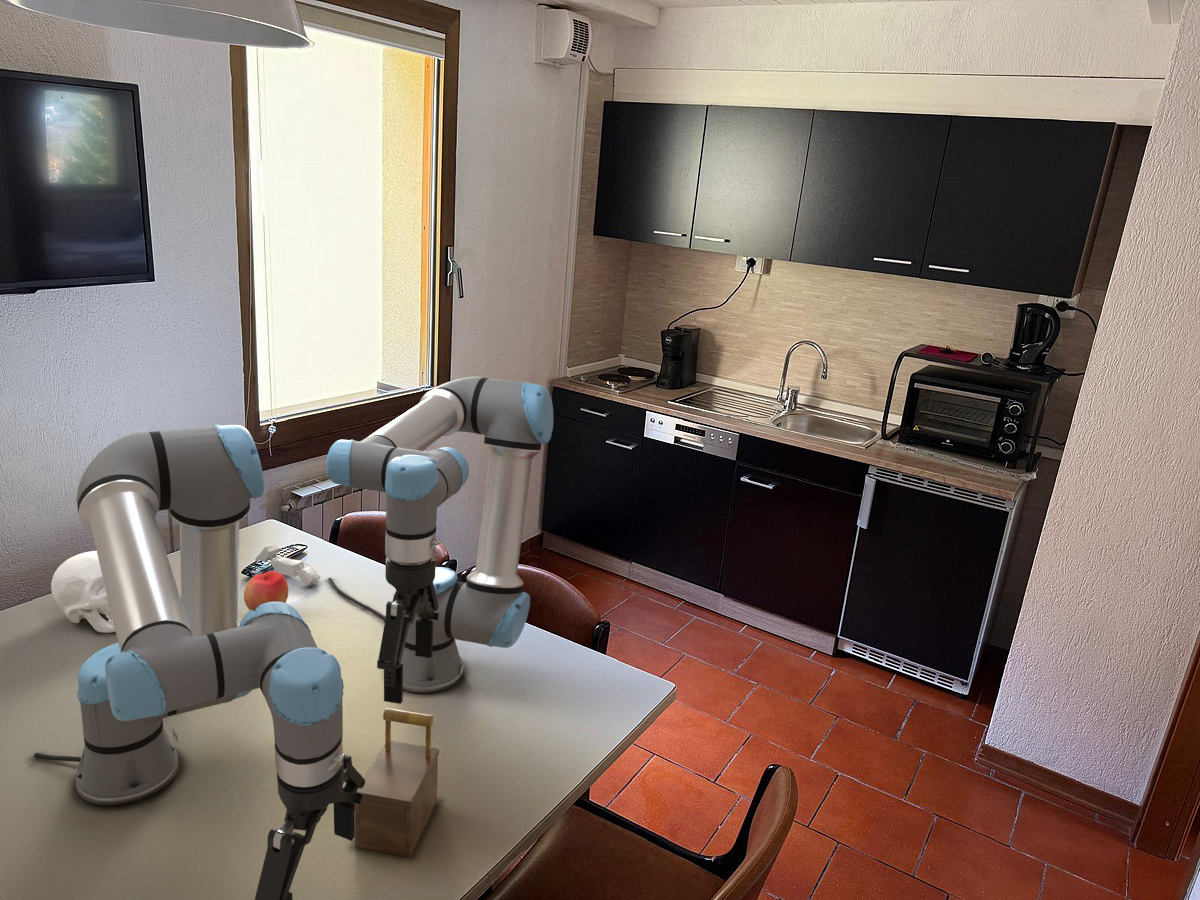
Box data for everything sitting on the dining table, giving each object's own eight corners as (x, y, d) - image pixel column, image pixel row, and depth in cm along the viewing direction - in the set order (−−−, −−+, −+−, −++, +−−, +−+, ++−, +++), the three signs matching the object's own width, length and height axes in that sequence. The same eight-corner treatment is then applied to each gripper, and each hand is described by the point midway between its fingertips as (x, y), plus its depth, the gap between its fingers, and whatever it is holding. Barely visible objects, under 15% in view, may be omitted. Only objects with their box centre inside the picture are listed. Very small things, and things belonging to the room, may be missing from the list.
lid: (387, 745, 144) (387, 699, 142) (439, 754, 143) (440, 708, 141) (354, 797, 132) (354, 748, 129) (410, 807, 131) (411, 758, 128)
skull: (118, 643, 184) (114, 575, 180) (38, 622, 190) (32, 556, 185) (165, 617, 196) (162, 554, 192) (89, 598, 202) (84, 536, 198)
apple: (273, 600, 207) (272, 562, 204) (297, 613, 202) (296, 575, 199) (237, 614, 200) (234, 575, 197) (261, 628, 194) (259, 588, 191)
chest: (386, 793, 147) (386, 747, 144) (436, 802, 146) (438, 756, 143) (354, 847, 135) (354, 798, 132) (410, 857, 133) (410, 807, 131)
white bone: (253, 565, 223) (254, 542, 221) (265, 560, 226) (266, 537, 224) (309, 593, 215) (310, 569, 213) (320, 588, 218) (321, 564, 216)
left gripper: (271, 864, 90) (280, 980, 100) (392, 703, 111) (390, 812, 121) (210, 839, 91) (226, 955, 101) (341, 685, 112) (343, 794, 123)
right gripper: (404, 595, 118) (403, 726, 125) (459, 529, 142) (455, 642, 148) (353, 588, 119) (354, 718, 126) (416, 523, 143) (414, 636, 149)
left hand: (315, 877), depth 111 cm, fingers open, 13 cm apart
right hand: (409, 677), depth 137 cm, fingers open, 13 cm apart
